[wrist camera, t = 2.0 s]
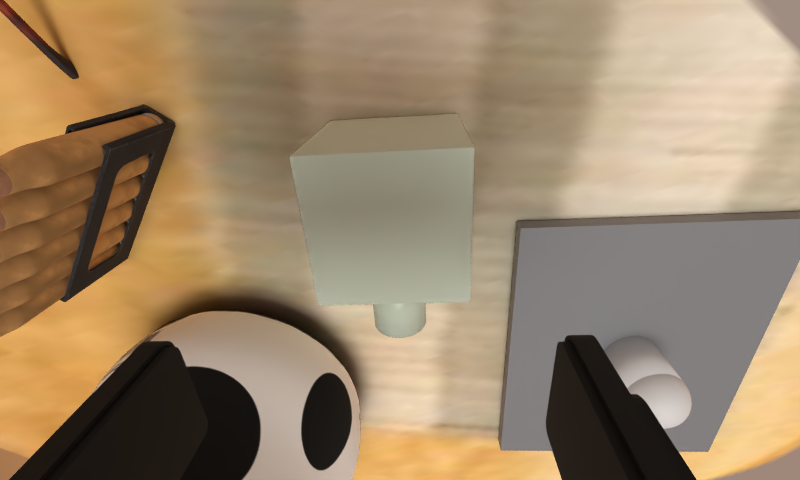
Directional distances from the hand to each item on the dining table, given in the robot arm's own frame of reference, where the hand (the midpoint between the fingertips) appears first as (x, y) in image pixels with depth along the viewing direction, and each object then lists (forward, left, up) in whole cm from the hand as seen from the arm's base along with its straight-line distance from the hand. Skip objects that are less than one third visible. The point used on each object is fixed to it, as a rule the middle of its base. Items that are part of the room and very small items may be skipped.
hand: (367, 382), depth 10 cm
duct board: (+12, +15, -14) cm, 24 cm away
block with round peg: (+1, 0, -14) cm, 14 cm away
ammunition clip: (-1, -16, -15) cm, 22 cm away
